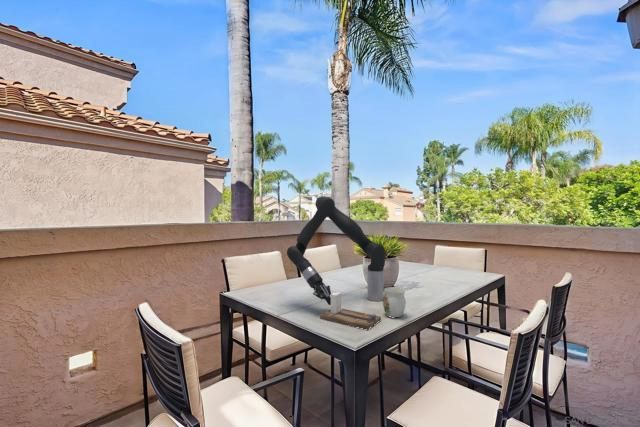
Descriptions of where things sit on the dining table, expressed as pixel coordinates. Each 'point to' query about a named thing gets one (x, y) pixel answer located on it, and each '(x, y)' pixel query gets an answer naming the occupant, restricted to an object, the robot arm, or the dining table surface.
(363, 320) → the board
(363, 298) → the dining table surface
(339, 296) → the slider tab
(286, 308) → the dining table surface
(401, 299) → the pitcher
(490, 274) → the dining table surface
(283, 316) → the dining table surface
